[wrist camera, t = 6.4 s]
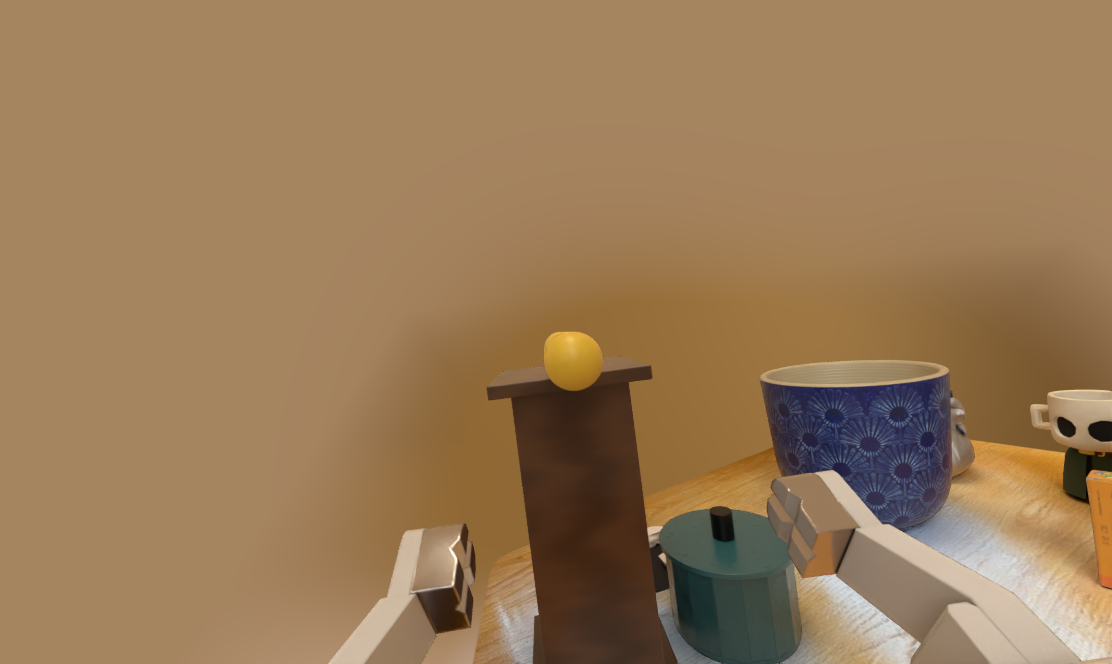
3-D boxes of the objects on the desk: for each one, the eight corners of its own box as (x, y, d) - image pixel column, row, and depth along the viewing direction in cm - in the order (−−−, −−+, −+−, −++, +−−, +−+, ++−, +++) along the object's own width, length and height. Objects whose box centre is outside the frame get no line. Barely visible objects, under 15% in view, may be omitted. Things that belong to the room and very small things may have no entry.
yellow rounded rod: (611, 390, 21) (603, 328, 21) (548, 399, 21) (540, 335, 21) (577, 360, 43) (573, 330, 43) (546, 364, 43) (542, 334, 43)
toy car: (715, 559, 50) (714, 545, 50) (669, 575, 48) (668, 560, 48) (675, 529, 58) (673, 517, 58) (634, 541, 56) (632, 529, 56)
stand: (532, 745, 30) (486, 386, 30) (535, 627, 42) (502, 371, 42) (696, 719, 30) (651, 365, 30) (653, 609, 42) (620, 355, 42)
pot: (698, 676, 34) (687, 585, 34) (660, 592, 45) (652, 523, 45) (830, 656, 34) (819, 566, 34) (761, 577, 45) (752, 509, 45)
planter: (906, 575, 43) (882, 390, 43) (744, 506, 62) (727, 379, 62) (1005, 516, 51) (985, 360, 51) (834, 471, 70) (820, 358, 70)
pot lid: (684, 597, 33) (678, 553, 33) (647, 527, 45) (642, 494, 45) (830, 576, 34) (824, 532, 34) (755, 512, 46) (751, 479, 46)
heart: (885, 457, 72) (879, 392, 70) (955, 457, 68) (952, 388, 66) (908, 491, 63) (903, 417, 61) (992, 492, 59) (989, 413, 57)
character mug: (1026, 492, 56) (1015, 395, 56) (1051, 478, 58) (1040, 386, 58) (1168, 523, 46) (1154, 405, 46) (1190, 505, 48) (1177, 393, 48)
